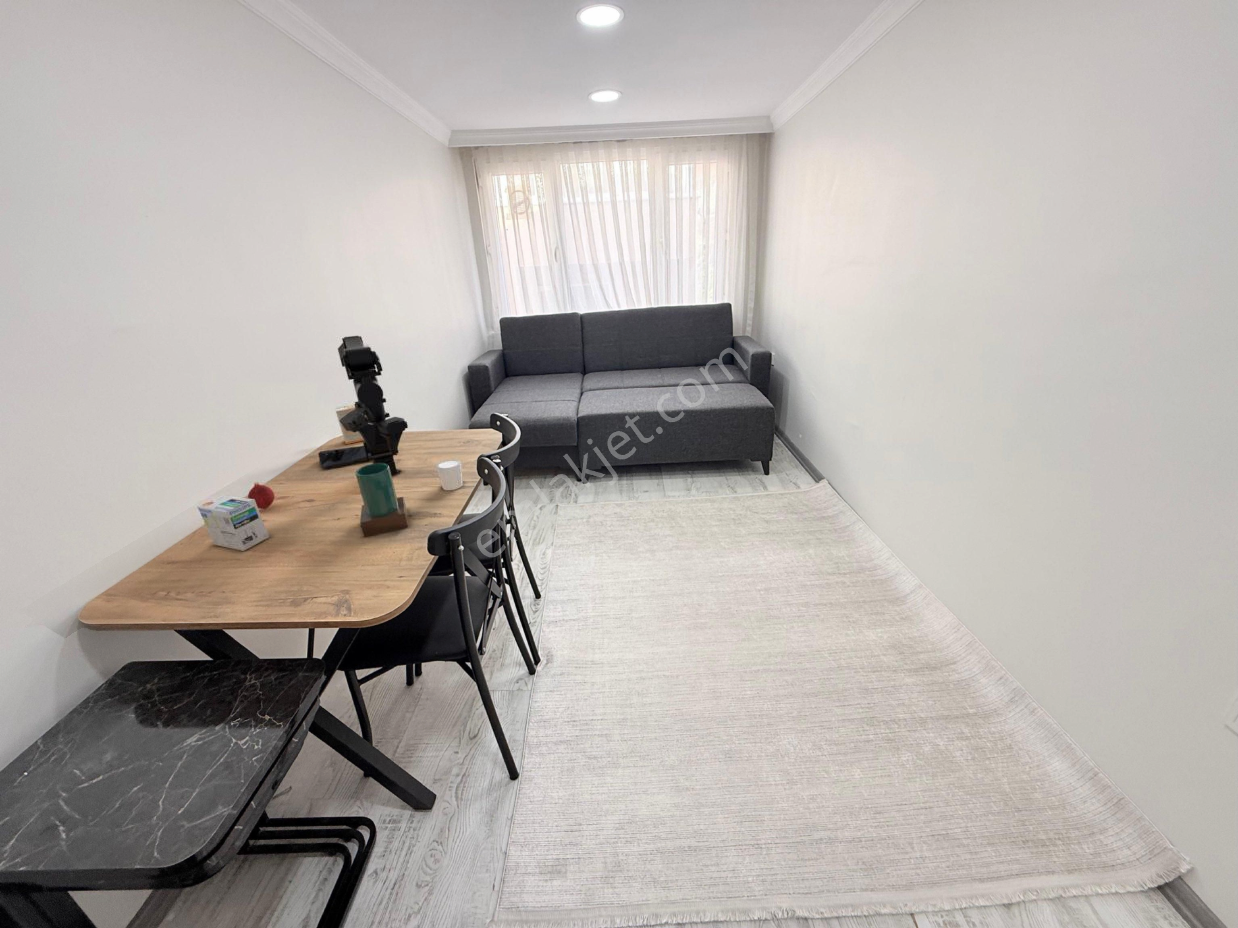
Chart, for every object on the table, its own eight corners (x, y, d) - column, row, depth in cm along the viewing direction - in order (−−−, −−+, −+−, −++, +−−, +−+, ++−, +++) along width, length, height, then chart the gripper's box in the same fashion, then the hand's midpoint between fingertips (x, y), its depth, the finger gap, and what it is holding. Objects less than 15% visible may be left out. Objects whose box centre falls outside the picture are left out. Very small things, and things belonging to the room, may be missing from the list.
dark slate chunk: (390, 459, 165) (387, 446, 163) (317, 471, 158) (313, 457, 156) (393, 444, 178) (390, 432, 176) (326, 454, 172) (322, 442, 170)
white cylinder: (468, 480, 147) (464, 459, 144) (459, 491, 140) (455, 469, 138) (446, 480, 147) (441, 459, 145) (436, 491, 141) (431, 468, 138)
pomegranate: (282, 505, 137) (273, 479, 133) (261, 515, 132) (251, 488, 129) (269, 502, 139) (260, 476, 136) (248, 511, 134) (238, 485, 131)
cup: (360, 515, 121) (348, 474, 117) (378, 501, 128) (368, 462, 123) (386, 517, 120) (376, 476, 115) (404, 502, 126) (394, 463, 122)
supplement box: (368, 436, 188) (359, 403, 182) (369, 439, 184) (361, 406, 179) (344, 441, 184) (334, 407, 179) (345, 444, 180) (335, 410, 175)
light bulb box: (270, 537, 121) (255, 498, 117) (243, 552, 115) (227, 511, 111) (240, 531, 124) (224, 493, 120) (212, 545, 119) (195, 505, 114)
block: (365, 518, 128) (361, 505, 126) (406, 509, 131) (403, 496, 130) (364, 537, 119) (360, 522, 118) (408, 527, 123) (404, 513, 121)
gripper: (318, 400, 128) (335, 456, 134) (363, 409, 119) (379, 468, 125) (358, 390, 136) (371, 442, 143) (402, 397, 128) (415, 452, 134)
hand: (383, 451), depth 136 cm, fingers open, 9 cm apart
